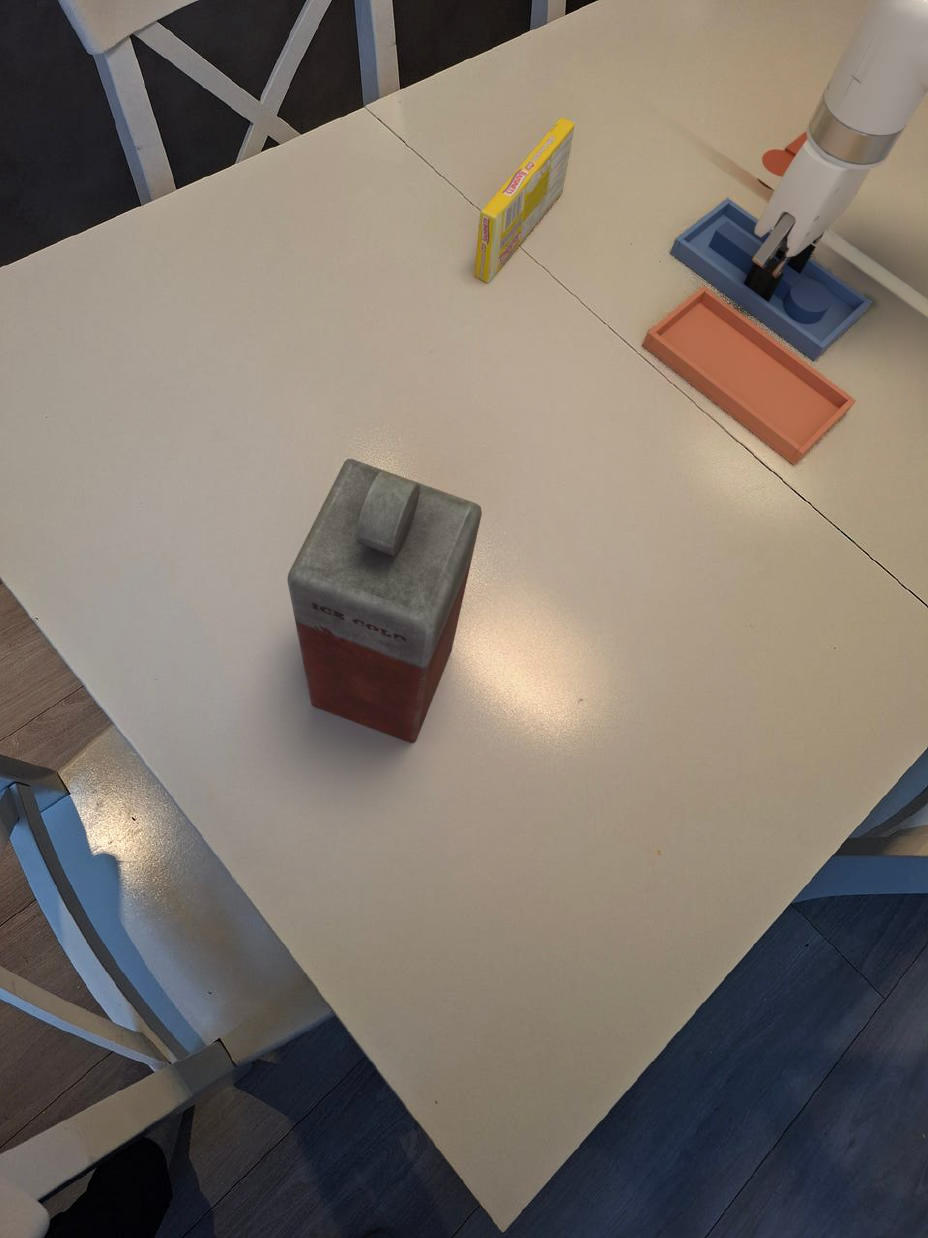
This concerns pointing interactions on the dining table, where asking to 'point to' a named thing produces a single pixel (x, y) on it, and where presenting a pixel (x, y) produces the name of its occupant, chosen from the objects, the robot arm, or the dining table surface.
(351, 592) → the red grey lidded canister
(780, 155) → the terracotta spoon
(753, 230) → the blue tray
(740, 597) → the dining table surface
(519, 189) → the candy box
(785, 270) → the blue spoon
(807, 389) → the terracotta tray
